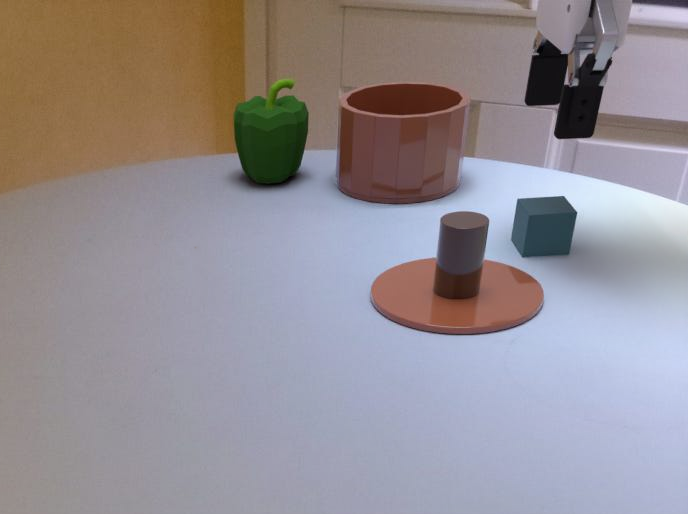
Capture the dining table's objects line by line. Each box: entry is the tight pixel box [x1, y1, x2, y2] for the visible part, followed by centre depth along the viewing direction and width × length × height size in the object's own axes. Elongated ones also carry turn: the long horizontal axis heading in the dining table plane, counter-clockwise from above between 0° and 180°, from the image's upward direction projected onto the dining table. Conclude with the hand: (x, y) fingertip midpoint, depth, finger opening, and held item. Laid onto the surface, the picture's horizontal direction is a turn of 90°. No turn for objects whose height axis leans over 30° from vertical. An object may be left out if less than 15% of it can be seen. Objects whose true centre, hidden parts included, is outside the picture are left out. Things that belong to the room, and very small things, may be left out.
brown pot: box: [335, 80, 472, 204], centre depth 107 cm, size 14×14×8 cm
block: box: [510, 195, 578, 258], centre depth 92 cm, size 4×4×4 cm
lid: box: [369, 210, 545, 335], centre depth 84 cm, size 15×15×7 cm
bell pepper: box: [233, 78, 310, 185], centre depth 110 cm, size 8×8×10 cm
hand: (556, 120), depth 85 cm, fingers open, 9 cm apart
